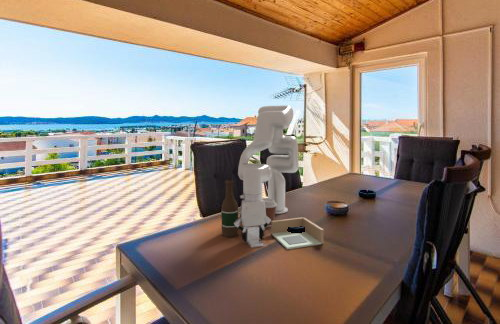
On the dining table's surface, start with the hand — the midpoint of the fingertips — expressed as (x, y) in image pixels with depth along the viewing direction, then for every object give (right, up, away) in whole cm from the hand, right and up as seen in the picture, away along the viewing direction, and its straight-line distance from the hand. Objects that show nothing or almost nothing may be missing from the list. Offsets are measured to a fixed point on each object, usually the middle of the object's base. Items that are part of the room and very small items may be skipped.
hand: (252, 239), depth 110 cm
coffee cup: (+7, +1, +20) cm, 21 cm away
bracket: (+1, -1, -2) cm, 3 cm away
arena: (+18, 0, +2) cm, 18 cm away
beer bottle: (-10, 0, +8) cm, 13 cm away
